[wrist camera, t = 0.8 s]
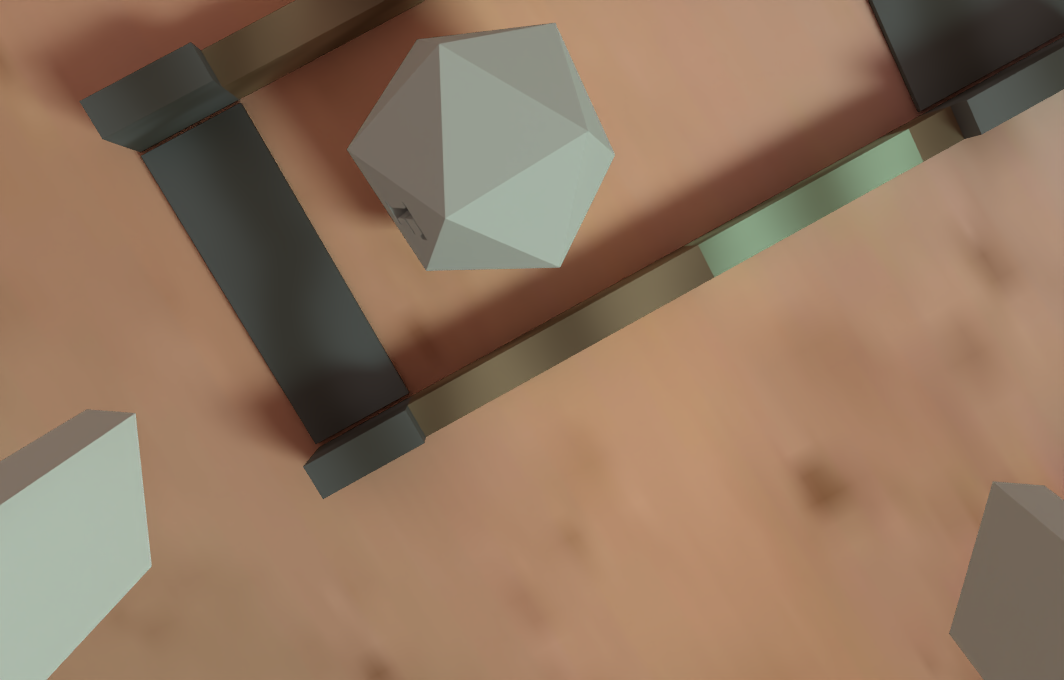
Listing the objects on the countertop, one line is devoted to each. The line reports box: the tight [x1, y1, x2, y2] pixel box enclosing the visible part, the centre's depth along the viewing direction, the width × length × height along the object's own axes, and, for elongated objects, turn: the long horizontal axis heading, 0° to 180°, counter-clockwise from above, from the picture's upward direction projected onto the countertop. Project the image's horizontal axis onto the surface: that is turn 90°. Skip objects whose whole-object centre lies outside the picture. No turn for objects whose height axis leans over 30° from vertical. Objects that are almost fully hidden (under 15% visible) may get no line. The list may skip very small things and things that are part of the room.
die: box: [347, 23, 615, 271], centre depth 26 cm, size 8×9×10 cm
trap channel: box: [80, 0, 1064, 499], centre depth 29 cm, size 38×17×3 cm, turn 118°
